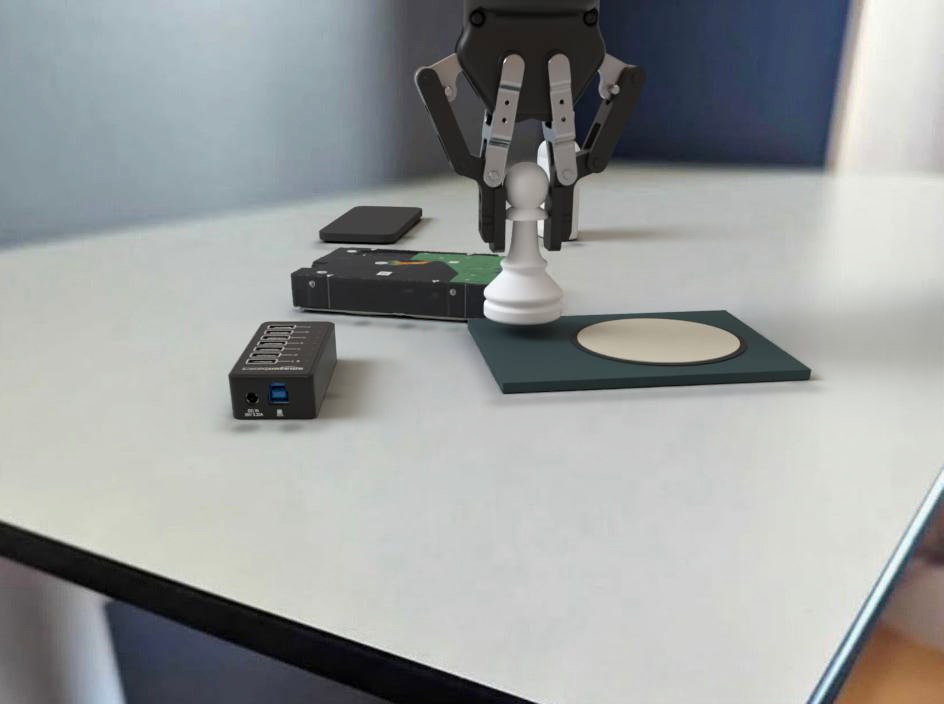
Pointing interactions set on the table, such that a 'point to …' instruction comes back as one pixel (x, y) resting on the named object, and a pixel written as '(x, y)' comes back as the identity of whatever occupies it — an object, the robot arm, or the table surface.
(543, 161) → the eye dropper bottle
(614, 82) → the robot arm
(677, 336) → the drawing mat
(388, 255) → the disk drive
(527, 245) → the chess pawn
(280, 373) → the multiport hub
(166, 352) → the table surface
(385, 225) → the phone
